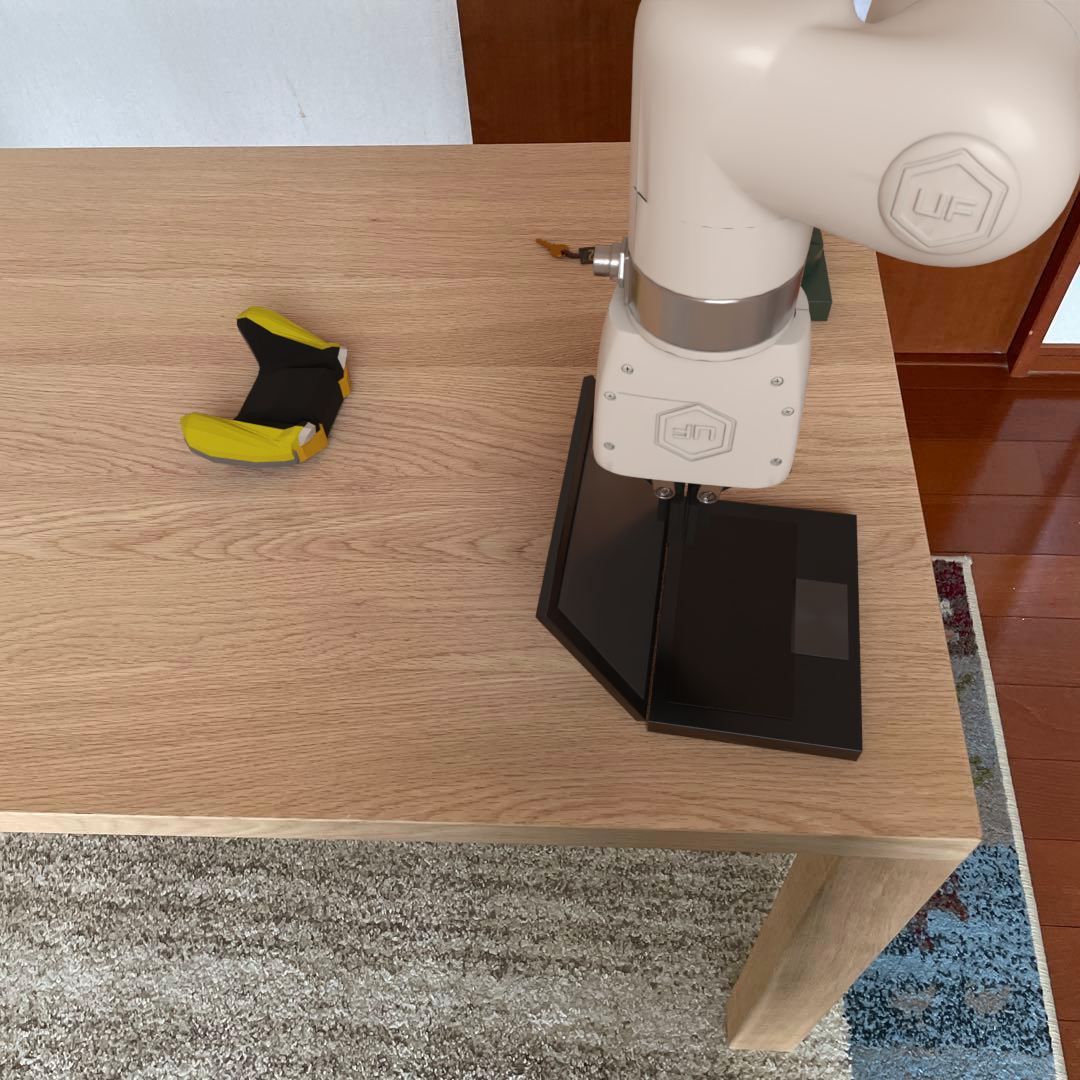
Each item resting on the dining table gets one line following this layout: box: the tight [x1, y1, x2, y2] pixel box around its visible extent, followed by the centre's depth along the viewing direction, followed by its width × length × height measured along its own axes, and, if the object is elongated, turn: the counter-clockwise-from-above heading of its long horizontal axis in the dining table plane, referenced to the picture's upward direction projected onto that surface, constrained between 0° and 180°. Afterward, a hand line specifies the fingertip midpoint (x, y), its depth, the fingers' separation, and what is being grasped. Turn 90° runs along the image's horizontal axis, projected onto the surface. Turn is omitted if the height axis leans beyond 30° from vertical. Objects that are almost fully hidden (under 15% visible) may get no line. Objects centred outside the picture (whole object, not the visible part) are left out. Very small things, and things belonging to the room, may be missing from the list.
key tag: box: [535, 238, 613, 265], centre depth 86 cm, size 8×3×1 cm, turn 80°
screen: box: [534, 374, 669, 723], centre depth 59 cm, size 13×18×1 cm
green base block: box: [801, 227, 833, 322], centre depth 82 cm, size 12×8×4 cm, turn 176°
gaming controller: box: [179, 305, 352, 469], centre depth 74 cm, size 15×6×10 cm
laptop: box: [646, 495, 864, 762], centre depth 63 cm, size 13×18×2 cm
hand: (681, 523), depth 56 cm, fingers closed
